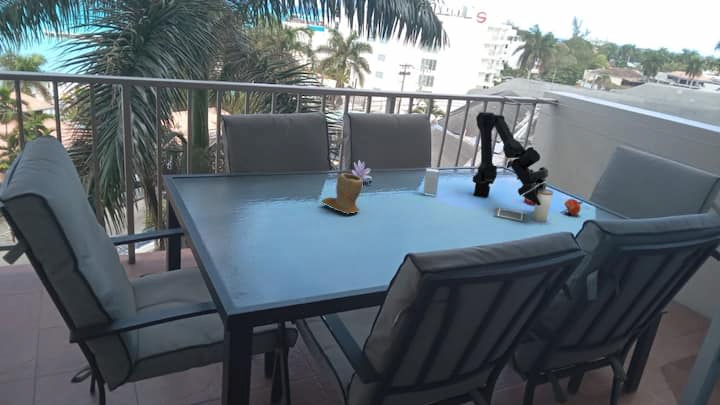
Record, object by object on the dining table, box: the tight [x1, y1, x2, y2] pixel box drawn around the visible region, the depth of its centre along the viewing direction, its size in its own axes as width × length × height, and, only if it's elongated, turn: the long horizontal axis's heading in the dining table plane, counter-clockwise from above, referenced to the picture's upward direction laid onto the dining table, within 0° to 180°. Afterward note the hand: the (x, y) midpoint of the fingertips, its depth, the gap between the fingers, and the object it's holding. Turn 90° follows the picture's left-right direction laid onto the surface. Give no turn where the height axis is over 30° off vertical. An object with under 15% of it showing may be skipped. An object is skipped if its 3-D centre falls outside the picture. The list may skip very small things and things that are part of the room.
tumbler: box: [531, 188, 554, 223], centre depth 203 cm, size 6×6×13 cm
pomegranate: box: [560, 198, 583, 216], centre depth 214 cm, size 7×7×10 cm
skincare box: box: [423, 168, 440, 196], centre depth 223 cm, size 6×4×12 cm
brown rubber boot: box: [320, 172, 364, 213], centre depth 194 cm, size 15×12×15 cm
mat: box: [493, 207, 527, 224], centre depth 207 cm, size 13×11×1 cm
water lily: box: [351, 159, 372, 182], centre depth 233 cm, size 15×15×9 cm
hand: (543, 202), depth 202 cm, fingers open, 9 cm apart
